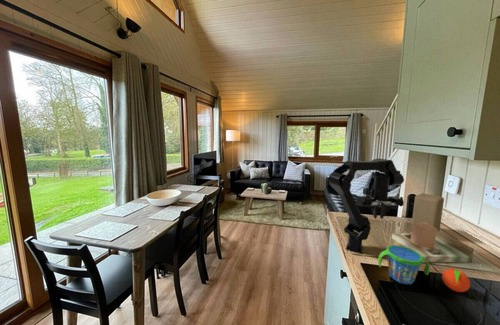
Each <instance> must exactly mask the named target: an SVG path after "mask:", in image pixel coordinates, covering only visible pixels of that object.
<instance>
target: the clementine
mask: <svg viewBox="0 0 500 325" xmlns="http://www.w3.org/2000/svg"><path fill="white" fill-rule="evenodd" d="M441 278H442V281H443V283H444V285H445V286H446V287H447V288H449V289H450V290H452V291H453V292H457V293H464V292H467V291H468V290H470V287H471V280H470V278H469V277H468V276H467V275H466V274H465V273H464V272H462V271H461V270H460V269H456V268H447V269H445V270H444V271H443V272H442V274H441Z"/></svg>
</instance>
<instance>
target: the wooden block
mask: <svg viewBox="0 0 500 325" xmlns="http://www.w3.org/2000/svg"><path fill="white" fill-rule="evenodd" d="M444 203H445V198H444V197H443V196H438V195H432V194H428V193H424V192H423V193H420V194H417V195H415V197H414V204H413V209H412V210H413V212H412V220H411V227H410V228H411V231H412V225H413V223H427V224H429V225H431V226H433V227H435V228H437V230H439V231H440V232H441V230H440V229H441V223H442V217H443V209H444Z"/></svg>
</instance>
